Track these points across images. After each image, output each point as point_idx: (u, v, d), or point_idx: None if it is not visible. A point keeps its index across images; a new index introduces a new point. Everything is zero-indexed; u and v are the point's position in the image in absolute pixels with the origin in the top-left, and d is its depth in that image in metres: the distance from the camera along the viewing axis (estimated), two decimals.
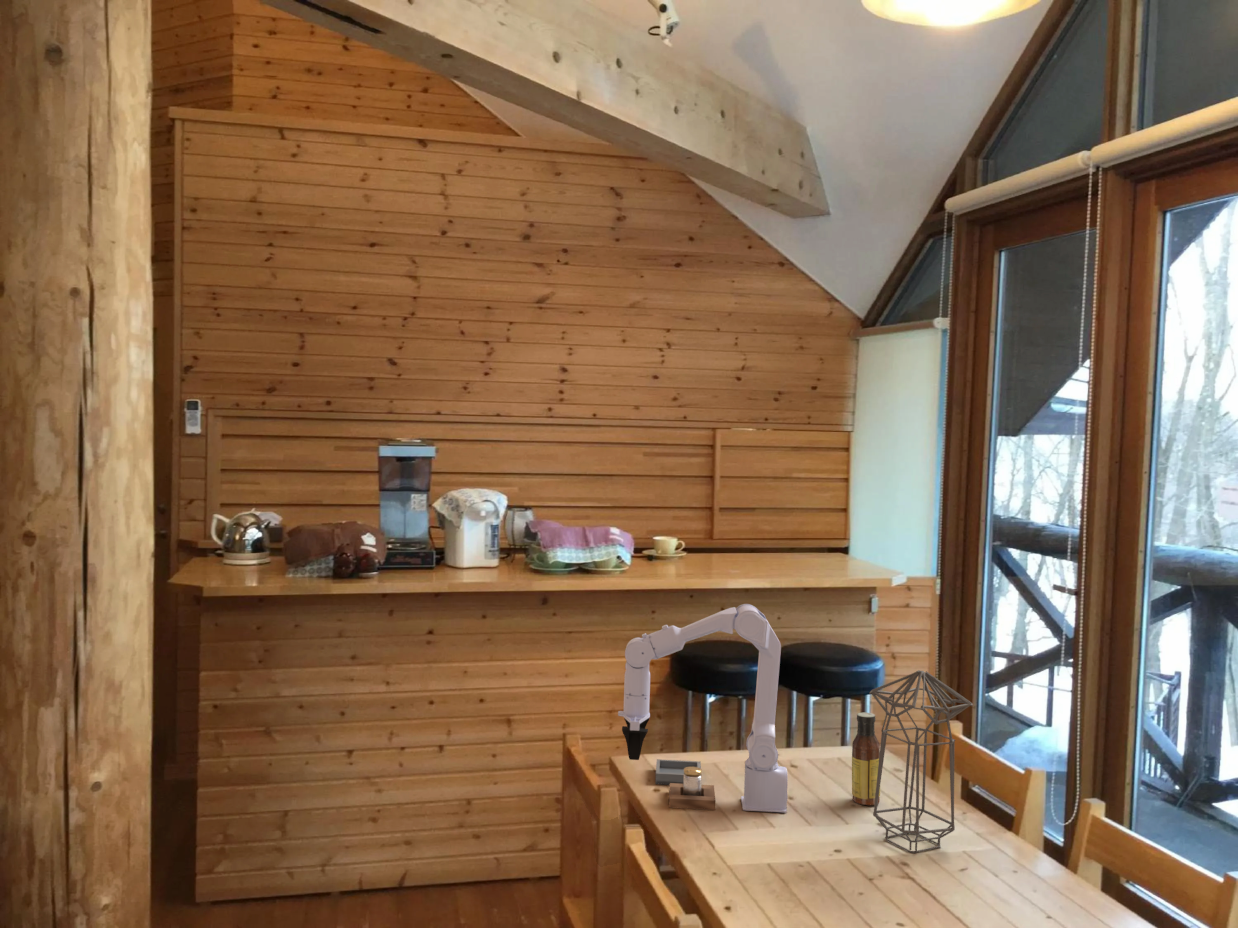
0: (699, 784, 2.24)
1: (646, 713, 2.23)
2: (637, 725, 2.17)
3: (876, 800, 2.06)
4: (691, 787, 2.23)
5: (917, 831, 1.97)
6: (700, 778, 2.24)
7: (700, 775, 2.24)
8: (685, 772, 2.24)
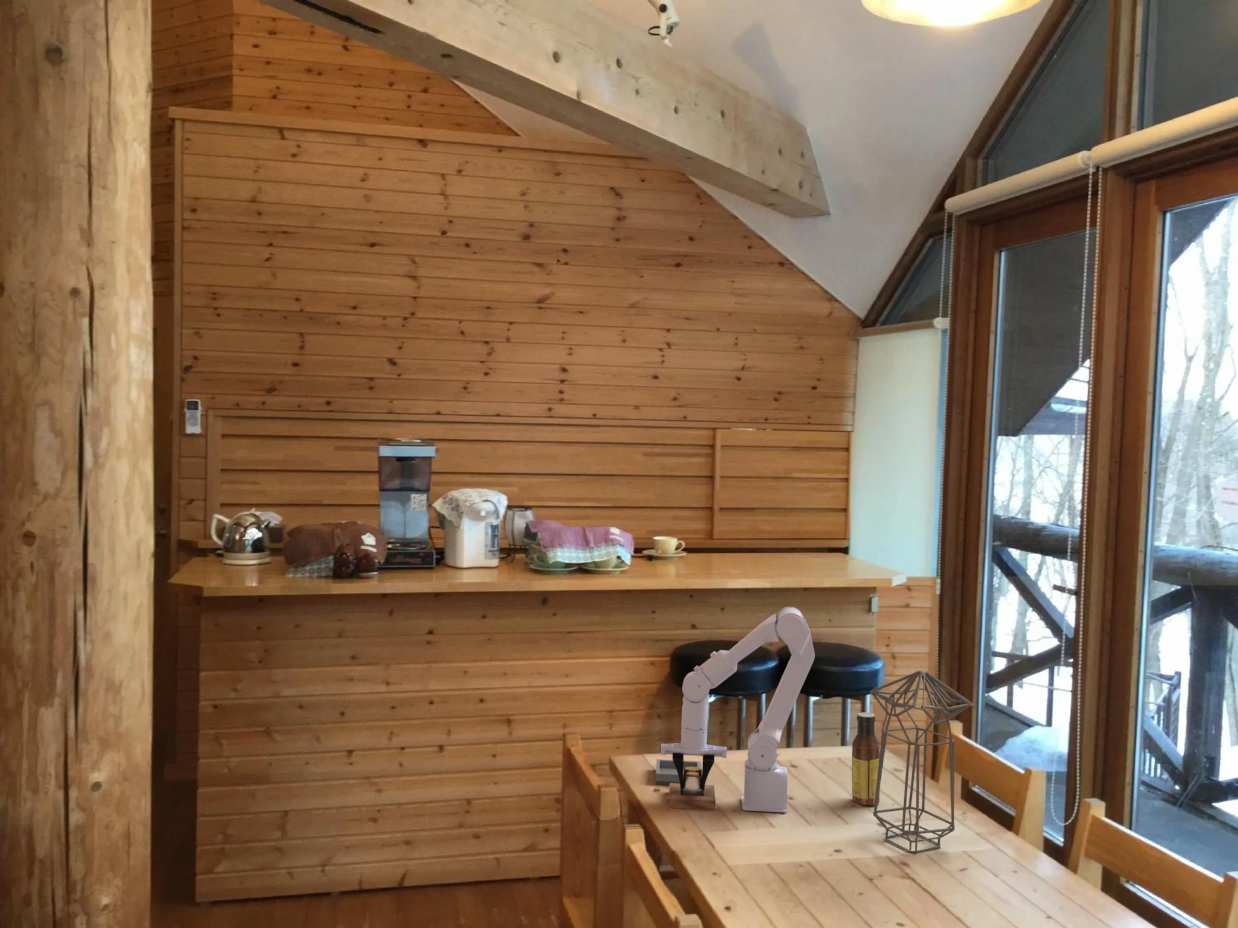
0: (699, 784, 2.24)
1: (686, 747, 2.23)
2: (661, 749, 2.25)
3: (876, 800, 2.06)
4: (691, 787, 2.23)
5: (917, 831, 1.97)
6: (700, 778, 2.24)
7: (700, 775, 2.24)
8: (685, 772, 2.24)
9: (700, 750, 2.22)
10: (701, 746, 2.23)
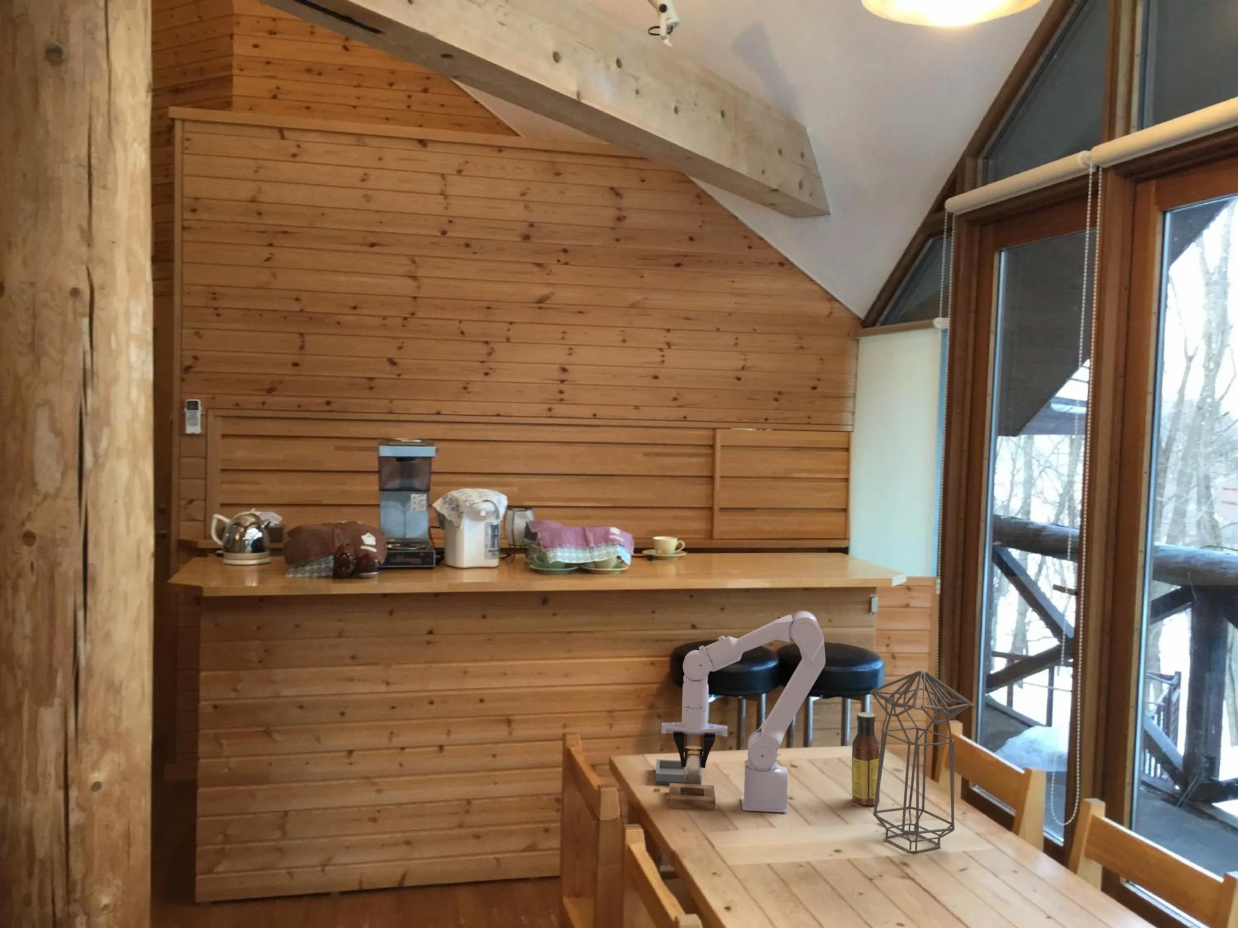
0: (700, 763, 2.24)
1: (687, 726, 2.23)
2: None
3: (876, 800, 2.06)
4: (692, 766, 2.23)
5: (917, 831, 1.97)
6: (701, 757, 2.24)
7: (701, 754, 2.24)
8: (686, 751, 2.24)
9: (701, 728, 2.22)
10: (702, 724, 2.22)
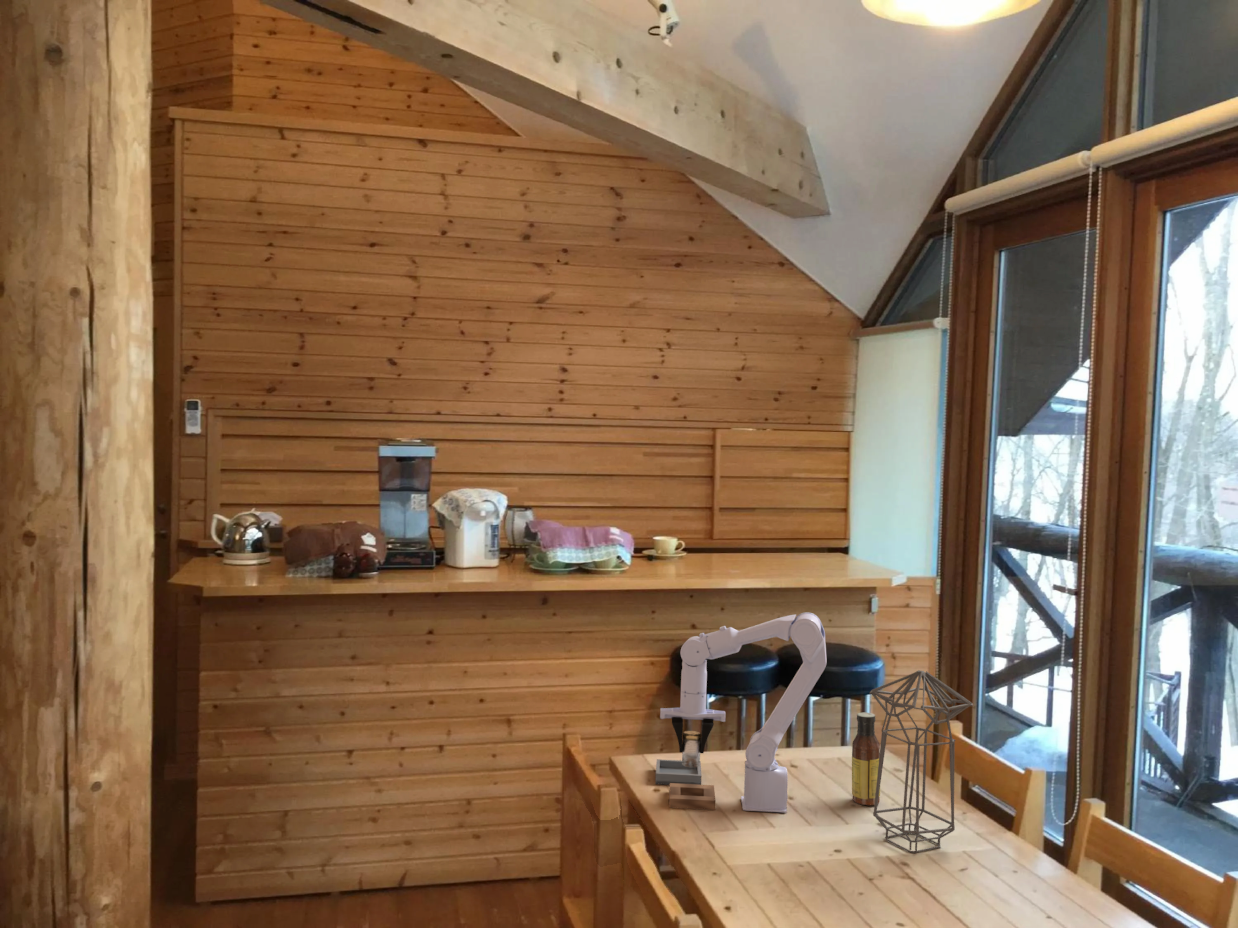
0: (698, 748, 2.25)
1: (685, 711, 2.24)
2: (660, 713, 2.26)
3: (876, 800, 2.06)
4: (690, 751, 2.25)
5: (917, 831, 1.97)
6: (699, 742, 2.26)
7: (699, 739, 2.26)
8: (684, 736, 2.26)
9: (699, 713, 2.24)
10: (700, 709, 2.24)
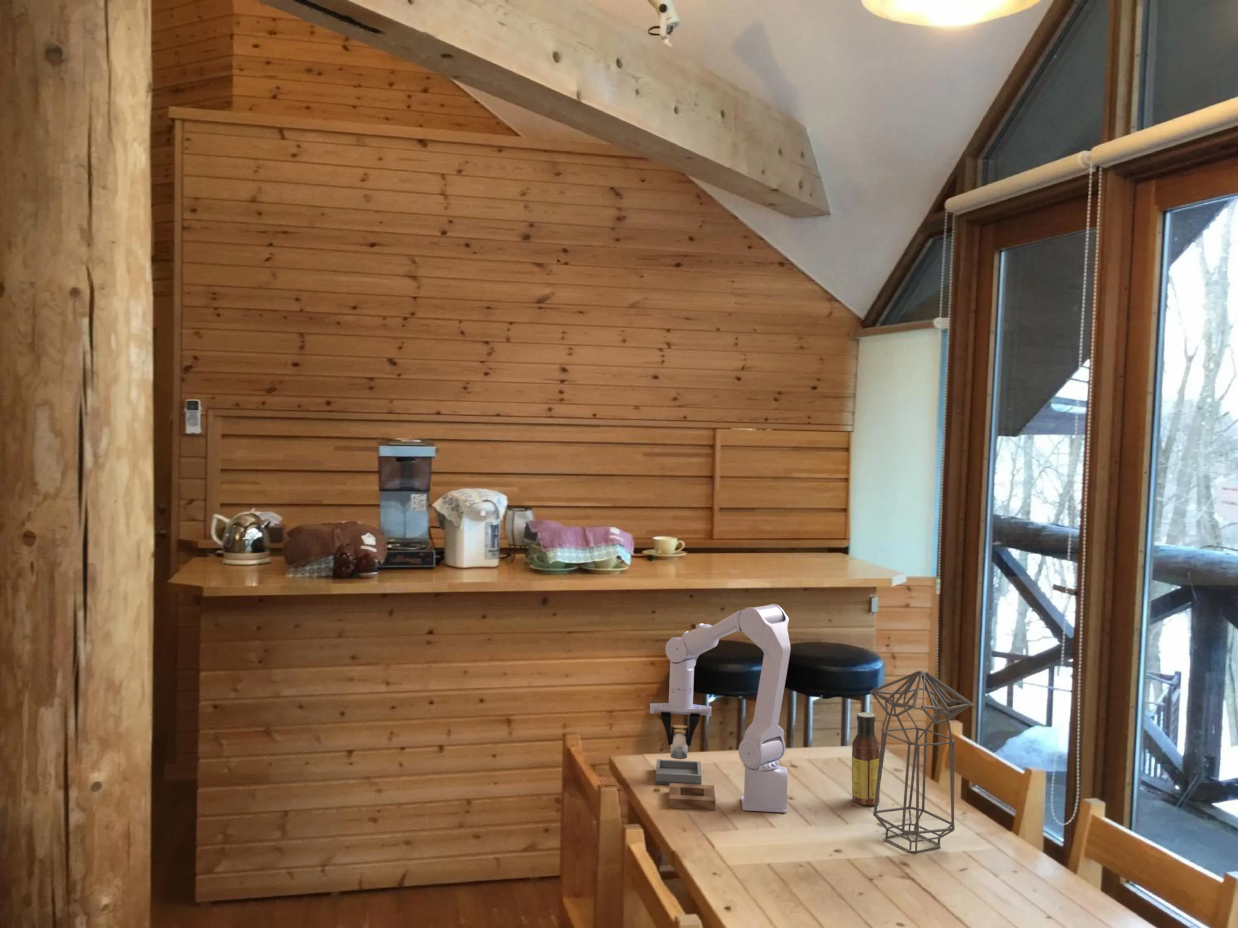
0: (685, 741, 2.39)
1: (673, 706, 2.38)
2: (650, 708, 2.40)
3: (876, 800, 2.06)
4: (678, 743, 2.38)
5: (917, 831, 1.97)
6: (686, 735, 2.39)
7: (686, 732, 2.39)
8: (672, 729, 2.39)
9: (687, 708, 2.37)
10: (687, 705, 2.38)
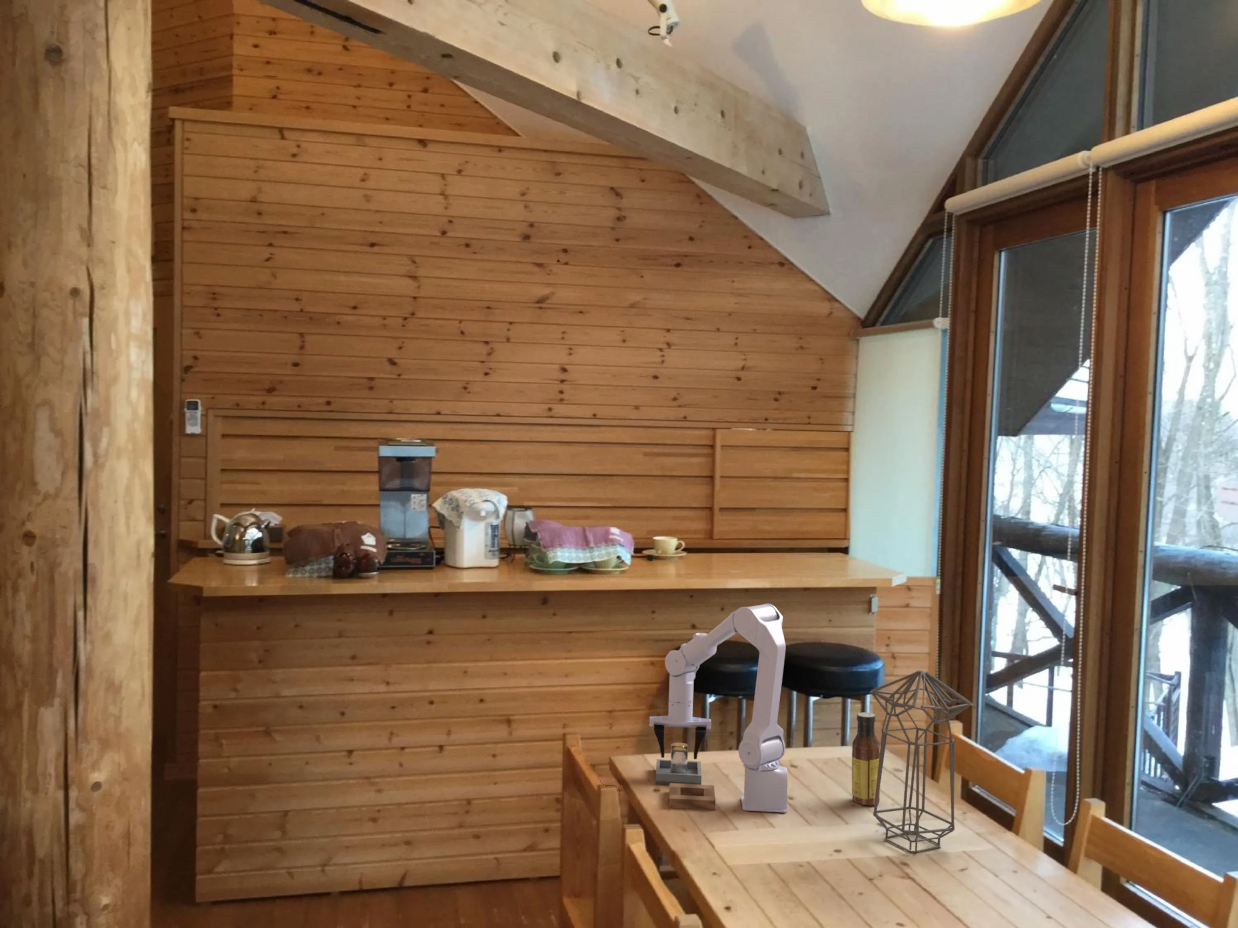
0: (685, 759, 2.39)
1: (673, 719, 2.38)
2: None
3: (876, 800, 2.06)
4: (678, 762, 2.38)
5: (917, 831, 1.97)
6: (686, 753, 2.39)
7: (686, 750, 2.39)
8: (672, 747, 2.39)
9: (686, 721, 2.37)
10: (687, 718, 2.38)
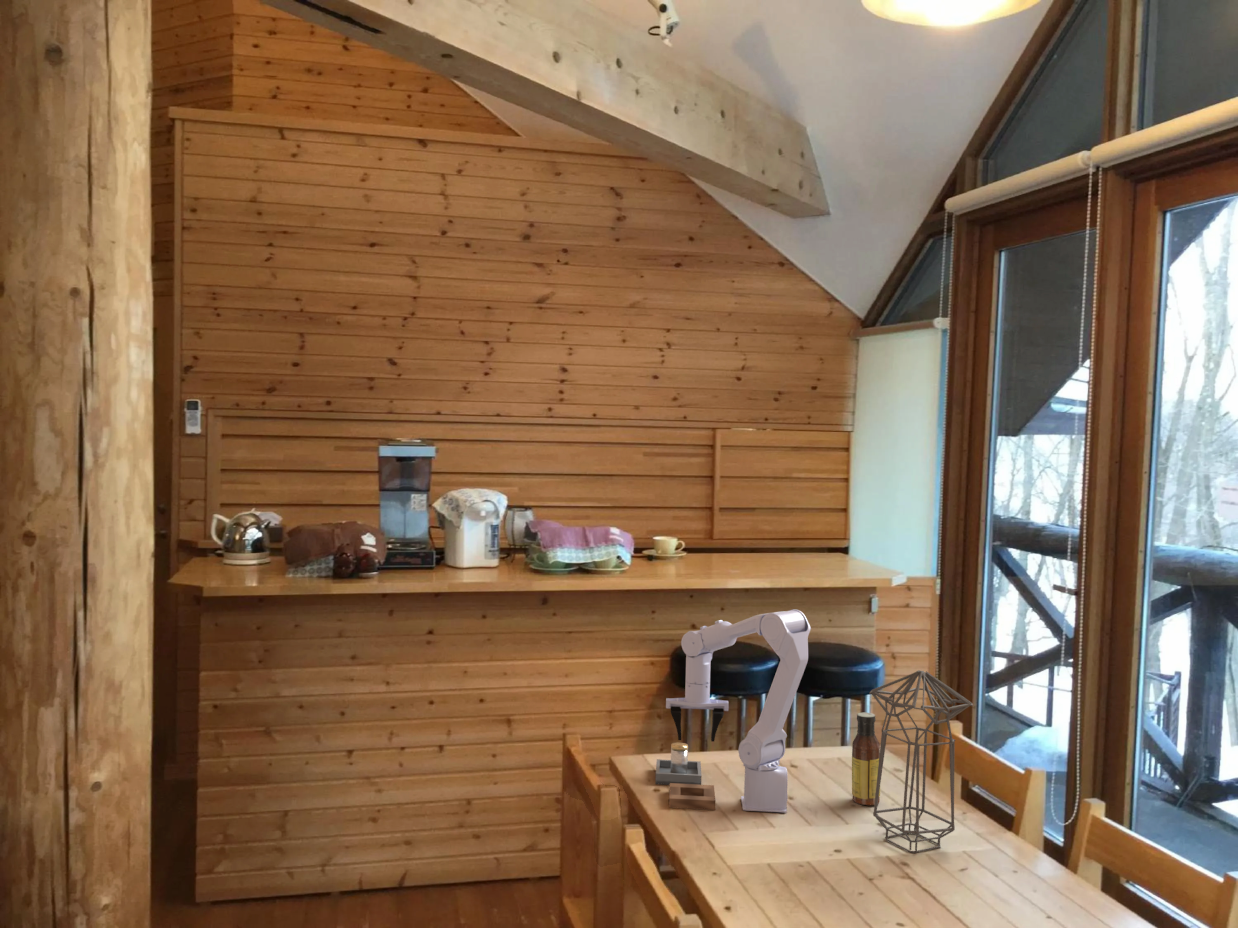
0: (685, 758, 2.39)
1: (690, 700, 2.34)
2: (666, 703, 2.36)
3: (876, 800, 2.06)
4: (678, 761, 2.38)
5: (917, 831, 1.97)
6: (686, 753, 2.39)
7: (686, 750, 2.39)
8: (672, 747, 2.39)
9: (704, 703, 2.34)
10: (704, 699, 2.34)
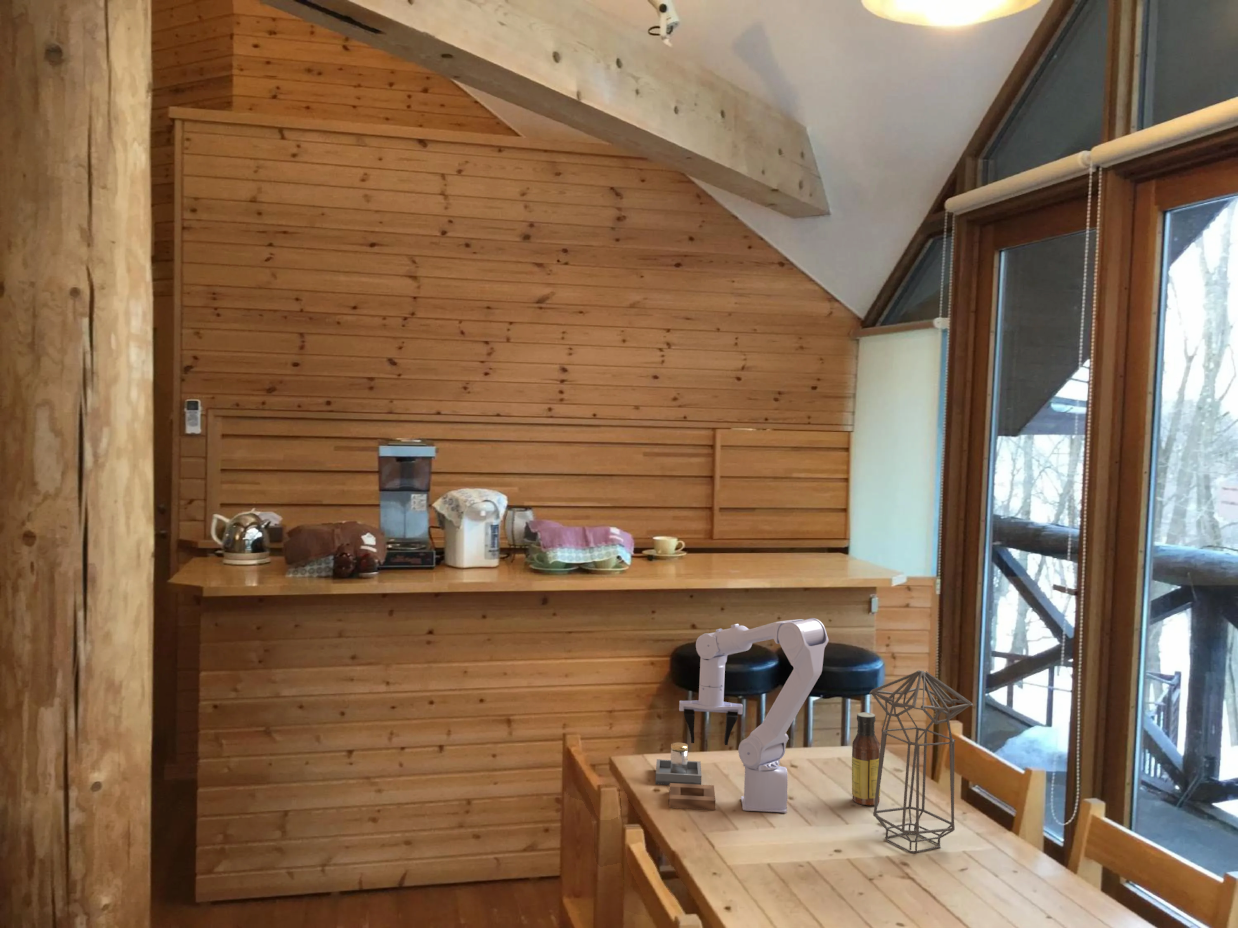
0: (686, 759, 2.39)
1: (704, 703, 2.31)
2: None
3: (876, 800, 2.06)
4: (678, 762, 2.38)
5: (917, 831, 1.97)
6: (686, 753, 2.39)
7: (686, 750, 2.39)
8: (672, 748, 2.39)
9: (718, 706, 2.31)
10: (718, 702, 2.31)
